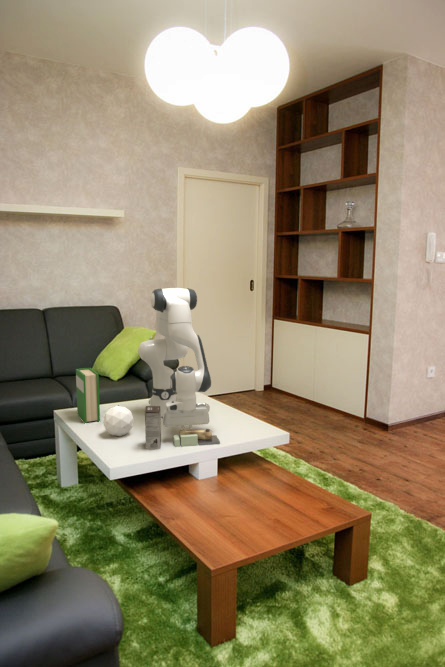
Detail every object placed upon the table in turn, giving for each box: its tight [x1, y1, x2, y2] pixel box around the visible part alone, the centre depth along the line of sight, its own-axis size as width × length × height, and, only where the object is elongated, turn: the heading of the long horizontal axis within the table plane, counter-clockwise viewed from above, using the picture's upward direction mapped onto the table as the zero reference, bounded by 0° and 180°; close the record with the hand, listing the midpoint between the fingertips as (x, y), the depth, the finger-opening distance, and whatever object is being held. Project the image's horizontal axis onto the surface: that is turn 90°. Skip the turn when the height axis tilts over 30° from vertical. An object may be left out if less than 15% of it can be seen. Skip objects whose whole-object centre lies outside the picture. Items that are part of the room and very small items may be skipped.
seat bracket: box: [172, 434, 199, 448], centre depth 226 cm, size 6×10×4 cm, turn 101°
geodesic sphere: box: [102, 404, 135, 437], centre depth 238 cm, size 14×14×14 cm
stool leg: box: [179, 428, 213, 440], centre depth 229 cm, size 14×4×4 cm, turn 88°
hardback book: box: [75, 367, 101, 424], centre depth 264 cm, size 18×7×24 cm, turn 27°
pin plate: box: [198, 434, 221, 446], centre depth 229 cm, size 9×9×1 cm
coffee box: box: [144, 405, 162, 450], centre depth 223 cm, size 9×6×16 cm
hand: (186, 434), depth 232 cm, fingers closed
